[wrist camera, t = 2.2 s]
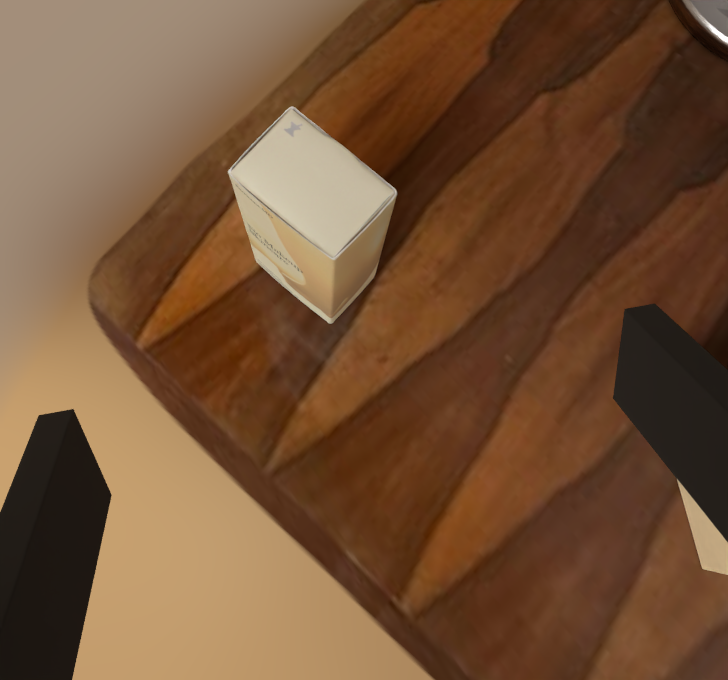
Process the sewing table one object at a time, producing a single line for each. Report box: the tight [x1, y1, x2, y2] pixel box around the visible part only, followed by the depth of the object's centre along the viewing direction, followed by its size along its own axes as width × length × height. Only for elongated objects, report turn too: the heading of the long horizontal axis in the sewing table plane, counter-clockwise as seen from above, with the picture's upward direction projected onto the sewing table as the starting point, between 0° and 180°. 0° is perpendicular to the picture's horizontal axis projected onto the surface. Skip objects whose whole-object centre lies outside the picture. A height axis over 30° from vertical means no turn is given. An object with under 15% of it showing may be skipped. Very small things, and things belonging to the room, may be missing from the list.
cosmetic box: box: [228, 106, 397, 324], centre depth 34 cm, size 6×4×12 cm
